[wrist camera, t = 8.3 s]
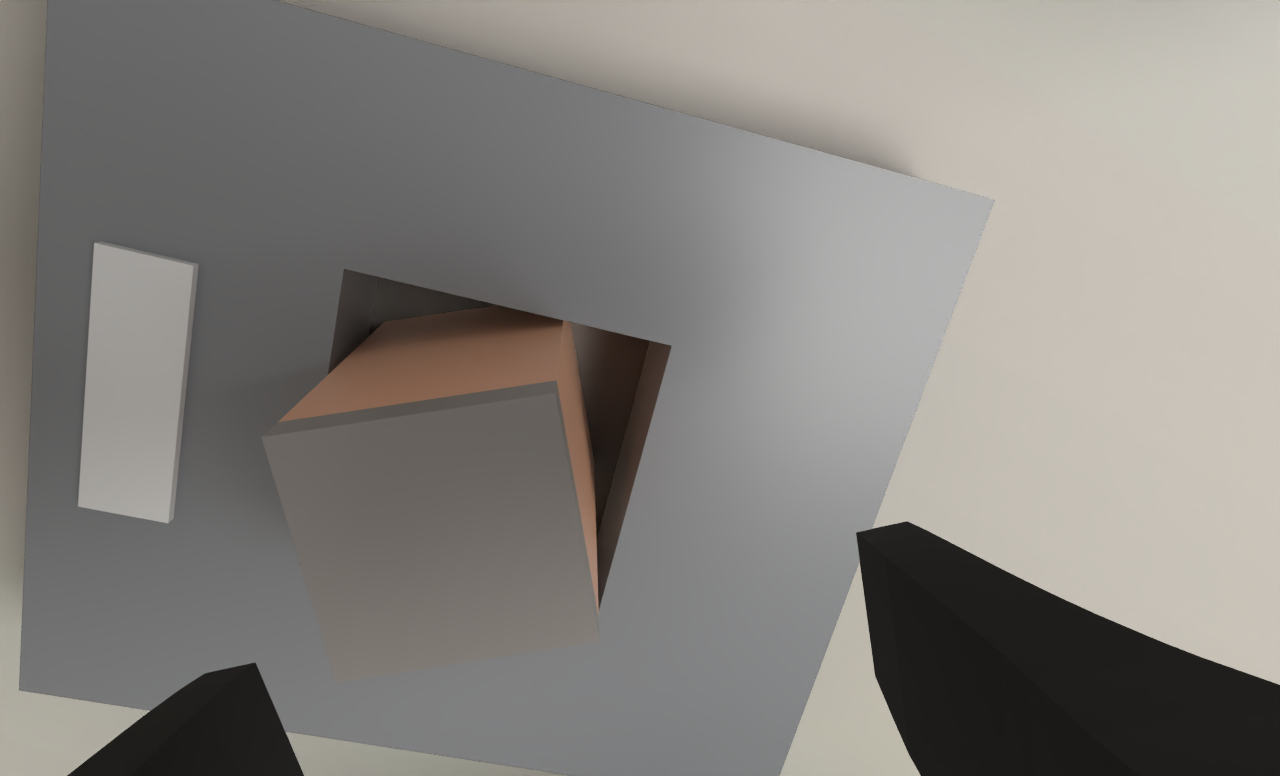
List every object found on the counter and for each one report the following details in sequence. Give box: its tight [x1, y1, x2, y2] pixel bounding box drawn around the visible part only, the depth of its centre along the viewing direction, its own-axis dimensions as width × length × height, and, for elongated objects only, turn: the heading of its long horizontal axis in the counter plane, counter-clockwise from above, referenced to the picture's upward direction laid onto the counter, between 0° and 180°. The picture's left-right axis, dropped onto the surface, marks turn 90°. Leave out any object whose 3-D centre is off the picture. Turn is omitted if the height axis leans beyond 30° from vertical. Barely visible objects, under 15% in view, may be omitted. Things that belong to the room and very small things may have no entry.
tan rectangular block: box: [262, 305, 599, 683], centre depth 15 cm, size 4×4×7 cm
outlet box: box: [19, 0, 995, 776], centre depth 17 cm, size 14×16×3 cm
